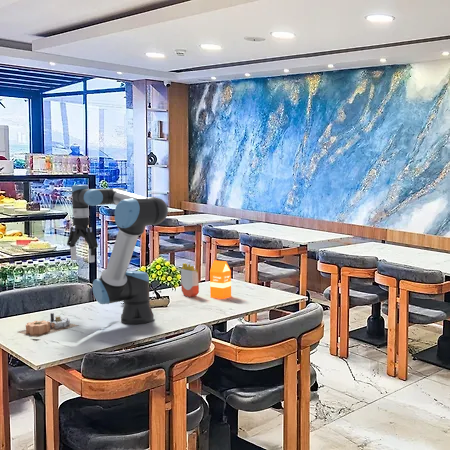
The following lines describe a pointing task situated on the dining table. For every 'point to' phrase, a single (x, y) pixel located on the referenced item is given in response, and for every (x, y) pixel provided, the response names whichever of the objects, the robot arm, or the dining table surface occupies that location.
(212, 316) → the dining table surface
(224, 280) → the orange juice
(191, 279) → the french fries container
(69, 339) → the dining table surface
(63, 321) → the gear
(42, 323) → the loose gear
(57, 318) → the gear board
